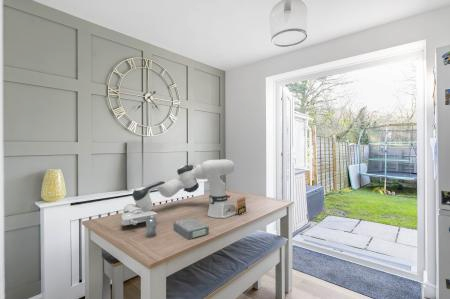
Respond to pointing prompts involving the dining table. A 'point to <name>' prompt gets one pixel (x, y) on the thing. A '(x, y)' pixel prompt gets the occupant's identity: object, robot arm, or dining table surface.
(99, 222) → the dining table surface
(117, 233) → the dining table surface
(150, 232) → the cylinder
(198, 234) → the kitchen scale
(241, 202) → the ammunition clip
